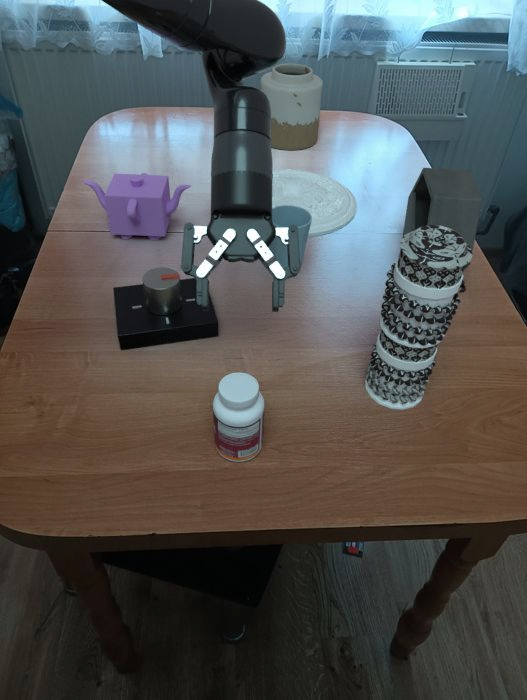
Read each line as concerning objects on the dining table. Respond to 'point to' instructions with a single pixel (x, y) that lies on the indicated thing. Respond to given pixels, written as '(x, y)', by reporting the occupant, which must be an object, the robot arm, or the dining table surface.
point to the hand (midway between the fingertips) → (240, 310)
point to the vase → (293, 105)
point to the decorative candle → (416, 314)
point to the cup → (285, 218)
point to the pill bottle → (238, 417)
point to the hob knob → (162, 290)
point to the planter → (444, 203)
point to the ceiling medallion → (314, 198)
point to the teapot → (138, 204)
